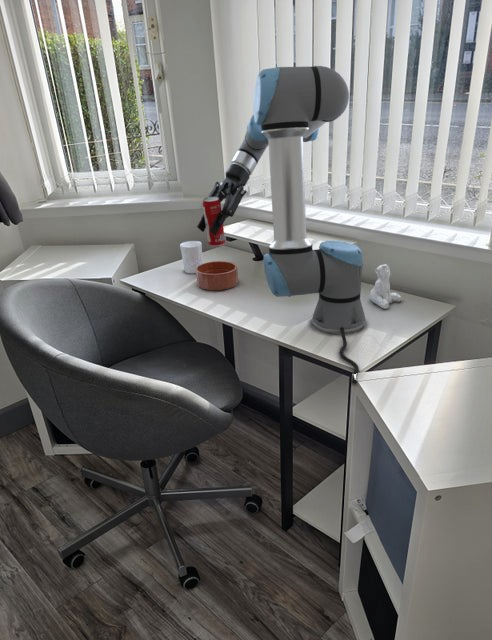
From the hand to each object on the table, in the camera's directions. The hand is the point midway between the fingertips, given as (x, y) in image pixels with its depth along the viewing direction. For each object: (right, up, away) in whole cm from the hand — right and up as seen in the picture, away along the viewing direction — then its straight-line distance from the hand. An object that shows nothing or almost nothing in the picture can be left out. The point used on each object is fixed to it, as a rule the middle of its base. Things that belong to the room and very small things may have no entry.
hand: (206, 231), depth 176 cm
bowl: (+3, -15, +13) cm, 20 cm away
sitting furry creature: (+56, -25, -6) cm, 62 cm away
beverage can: (+3, -3, +5) cm, 7 cm away
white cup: (-8, -7, +26) cm, 28 cm away
